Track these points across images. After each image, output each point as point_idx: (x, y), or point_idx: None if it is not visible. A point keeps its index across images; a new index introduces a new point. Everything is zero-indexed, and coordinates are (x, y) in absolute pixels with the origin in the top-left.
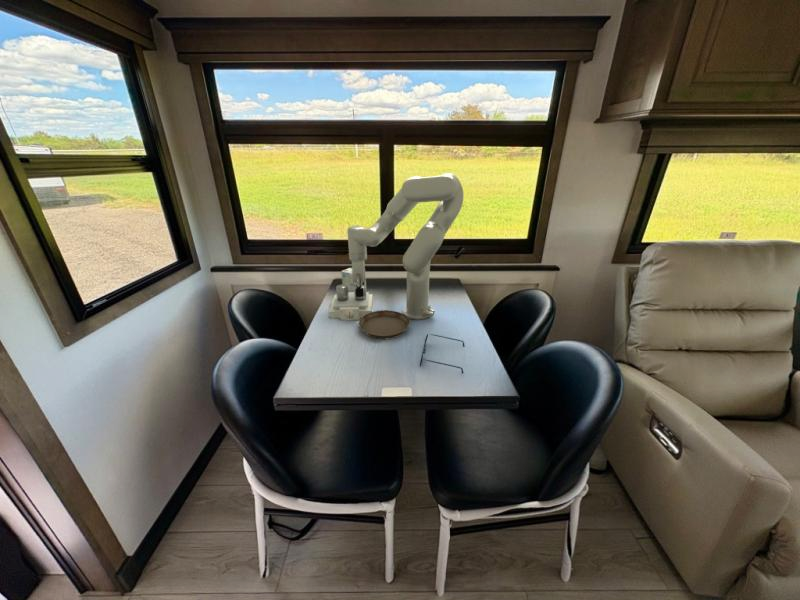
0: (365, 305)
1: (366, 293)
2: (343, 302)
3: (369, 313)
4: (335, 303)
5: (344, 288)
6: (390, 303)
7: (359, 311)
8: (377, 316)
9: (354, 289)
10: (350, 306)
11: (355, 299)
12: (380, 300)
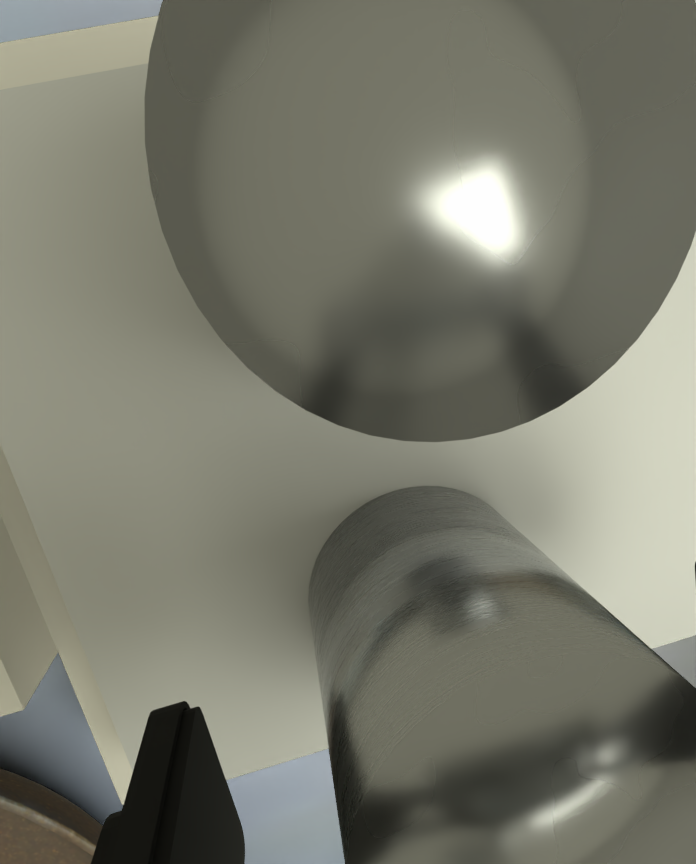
0: None
1: (650, 610)
2: (159, 318)
3: (23, 814)
4: (52, 135)
5: (247, 366)
6: None
7: (62, 645)
8: None
9: (410, 653)
10: (40, 519)
11: (341, 528)
12: None
